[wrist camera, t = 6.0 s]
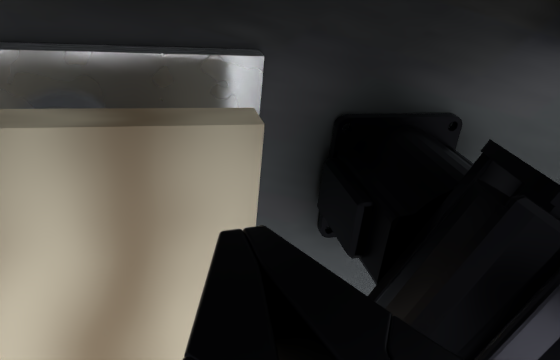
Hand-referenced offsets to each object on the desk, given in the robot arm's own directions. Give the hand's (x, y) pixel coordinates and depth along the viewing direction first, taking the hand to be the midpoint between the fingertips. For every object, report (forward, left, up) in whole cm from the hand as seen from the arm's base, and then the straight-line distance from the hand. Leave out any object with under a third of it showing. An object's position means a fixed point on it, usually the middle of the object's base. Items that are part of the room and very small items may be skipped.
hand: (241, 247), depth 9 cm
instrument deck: (+3, +11, -8) cm, 14 cm away
